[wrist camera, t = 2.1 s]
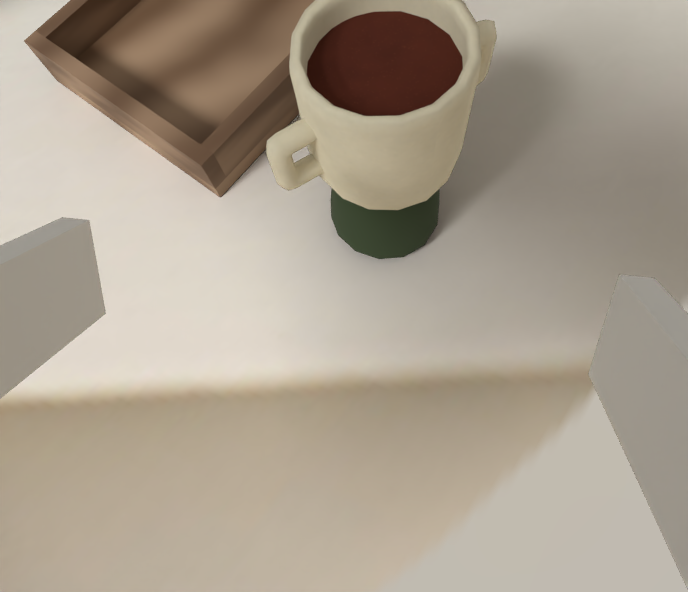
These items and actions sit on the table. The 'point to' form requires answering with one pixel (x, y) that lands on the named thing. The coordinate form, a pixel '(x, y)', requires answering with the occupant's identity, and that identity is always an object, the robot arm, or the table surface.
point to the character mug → (382, 112)
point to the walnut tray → (181, 74)
